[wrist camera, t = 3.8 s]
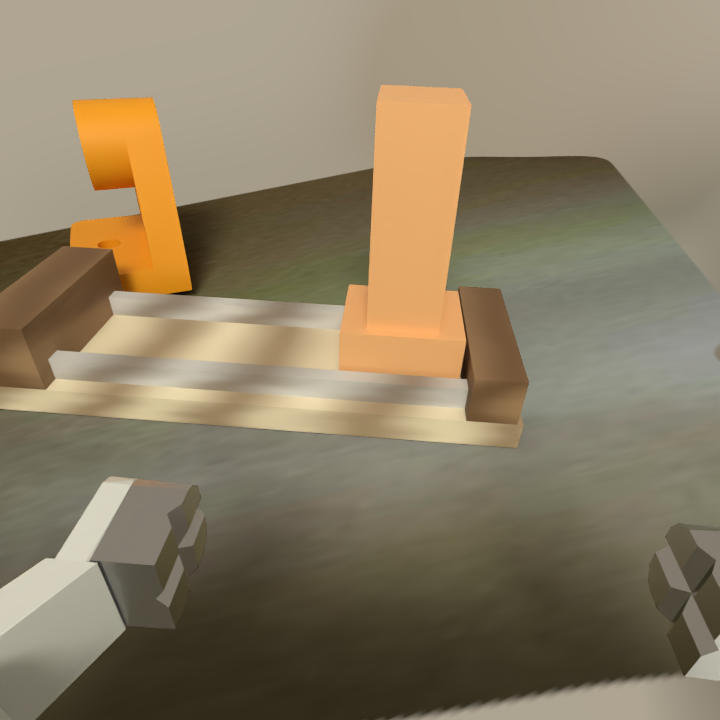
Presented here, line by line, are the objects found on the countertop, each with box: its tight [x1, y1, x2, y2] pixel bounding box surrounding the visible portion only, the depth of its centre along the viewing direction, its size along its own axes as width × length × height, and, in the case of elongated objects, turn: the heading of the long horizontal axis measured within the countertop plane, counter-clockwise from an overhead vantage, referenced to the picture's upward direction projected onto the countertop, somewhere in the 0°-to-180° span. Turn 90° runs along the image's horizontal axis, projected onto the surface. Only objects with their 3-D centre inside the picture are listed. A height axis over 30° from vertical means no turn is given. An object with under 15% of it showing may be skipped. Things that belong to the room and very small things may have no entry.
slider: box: [339, 85, 472, 379], centre depth 25 cm, size 6×5×13 cm
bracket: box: [70, 98, 192, 294], centre depth 36 cm, size 11×7×12 cm, turn 23°
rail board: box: [0, 246, 529, 448], centre depth 28 cm, size 27×9×5 cm, turn 86°
